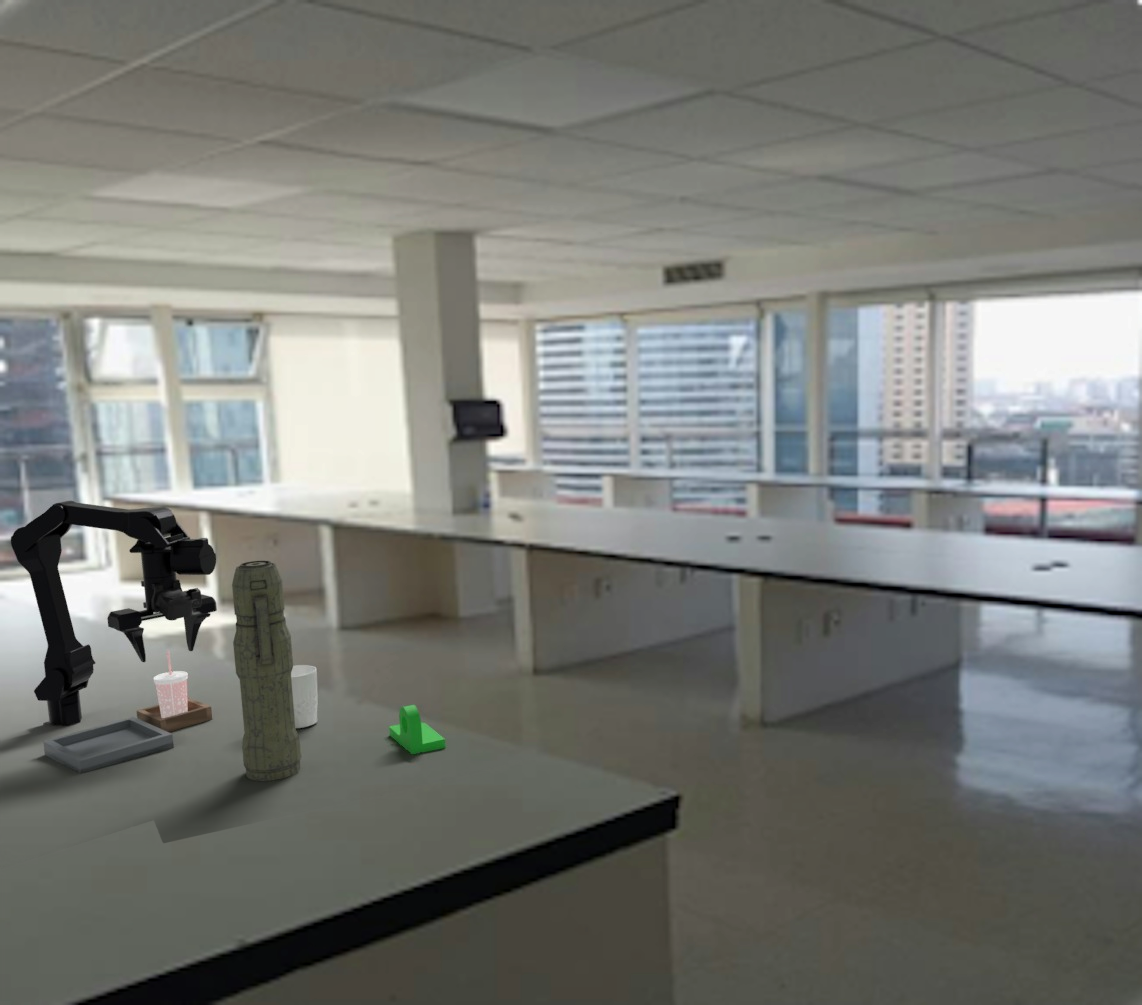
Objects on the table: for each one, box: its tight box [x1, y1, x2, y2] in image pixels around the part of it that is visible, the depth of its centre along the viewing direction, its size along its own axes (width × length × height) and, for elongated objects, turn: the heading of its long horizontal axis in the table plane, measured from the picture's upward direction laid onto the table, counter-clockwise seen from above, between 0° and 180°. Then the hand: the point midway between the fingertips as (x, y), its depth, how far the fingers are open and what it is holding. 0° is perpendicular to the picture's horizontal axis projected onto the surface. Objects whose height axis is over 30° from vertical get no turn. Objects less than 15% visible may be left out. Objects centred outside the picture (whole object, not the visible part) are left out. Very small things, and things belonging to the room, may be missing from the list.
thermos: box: [231, 560, 302, 782], centre depth 166 cm, size 9×12×35 cm
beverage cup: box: [153, 649, 189, 718], centre depth 197 cm, size 6×6×14 cm
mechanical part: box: [388, 704, 447, 755], centre depth 180 cm, size 12×6×8 cm, turn 28°
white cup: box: [291, 664, 319, 729], centre depth 193 cm, size 8×8×10 cm
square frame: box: [136, 696, 213, 733], centre depth 198 cm, size 10×10×2 cm
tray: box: [42, 716, 175, 774], centre depth 183 cm, size 16×16×2 cm
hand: (167, 656), depth 196 cm, fingers open, 9 cm apart
